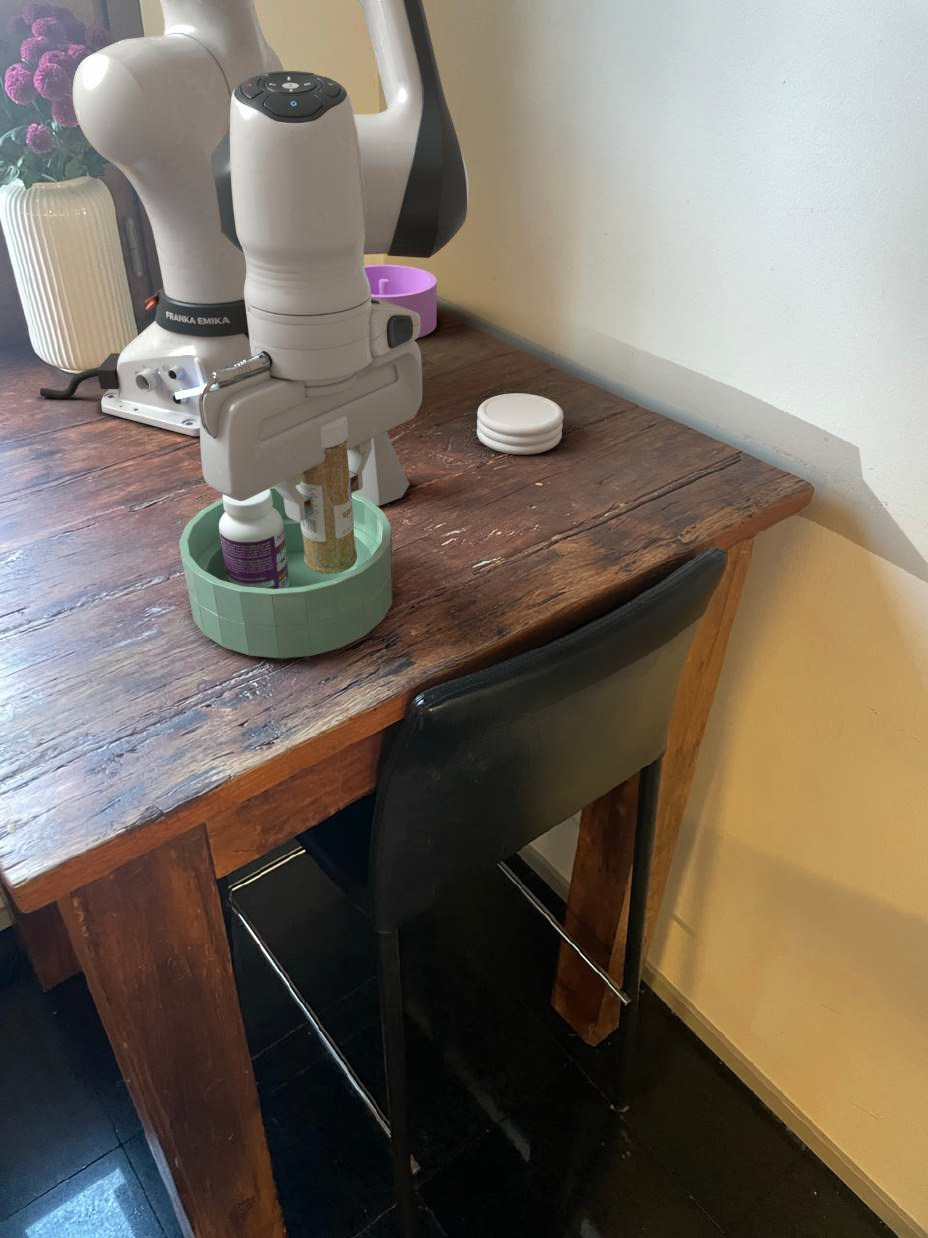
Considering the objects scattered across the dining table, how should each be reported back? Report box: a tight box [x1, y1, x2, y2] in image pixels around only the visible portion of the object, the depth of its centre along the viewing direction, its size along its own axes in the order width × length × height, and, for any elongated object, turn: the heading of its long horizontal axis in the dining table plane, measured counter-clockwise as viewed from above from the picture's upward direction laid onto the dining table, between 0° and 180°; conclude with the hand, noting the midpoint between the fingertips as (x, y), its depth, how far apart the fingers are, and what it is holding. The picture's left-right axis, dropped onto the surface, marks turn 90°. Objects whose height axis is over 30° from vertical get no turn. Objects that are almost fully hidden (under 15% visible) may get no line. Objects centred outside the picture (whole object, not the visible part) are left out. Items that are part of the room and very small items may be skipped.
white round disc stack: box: [476, 392, 564, 456], centre depth 109 cm, size 10×10×4 cm
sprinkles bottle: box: [296, 416, 357, 574], centre depth 75 cm, size 5×5×13 cm
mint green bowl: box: [178, 485, 394, 659], centre depth 81 cm, size 17×18×7 cm
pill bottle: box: [219, 489, 289, 589], centre depth 80 cm, size 5×5×10 cm
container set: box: [364, 264, 437, 339], centre depth 135 cm, size 25×15×13 cm, turn 91°
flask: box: [355, 431, 410, 507], centre depth 96 cm, size 7×7×10 cm
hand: (325, 503), depth 76 cm, fingers closed on sprinkles bottle, 4 cm apart
